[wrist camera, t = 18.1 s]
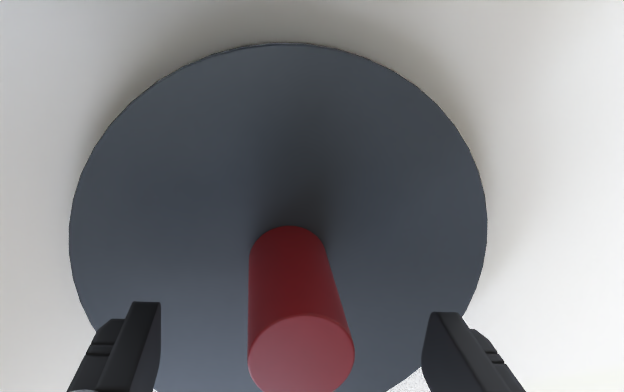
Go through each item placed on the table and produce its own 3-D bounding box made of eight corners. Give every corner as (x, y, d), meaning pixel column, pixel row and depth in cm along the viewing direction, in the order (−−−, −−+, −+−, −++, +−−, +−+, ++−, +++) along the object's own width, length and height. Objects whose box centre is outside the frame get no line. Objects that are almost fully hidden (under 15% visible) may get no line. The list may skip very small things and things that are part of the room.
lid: (5, 303, 18) (-118, 449, 12) (221, -60, 15) (200, -109, 9) (328, 450, 23) (356, 612, 17) (552, 192, 19) (691, 277, 13)
